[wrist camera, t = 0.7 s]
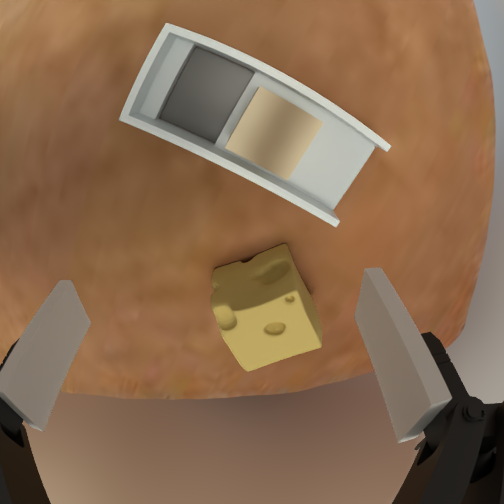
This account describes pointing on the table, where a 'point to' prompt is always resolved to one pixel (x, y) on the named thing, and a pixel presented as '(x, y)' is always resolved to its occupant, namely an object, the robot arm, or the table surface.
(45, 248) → the table surface
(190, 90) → the channel
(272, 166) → the block
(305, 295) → the cheese
